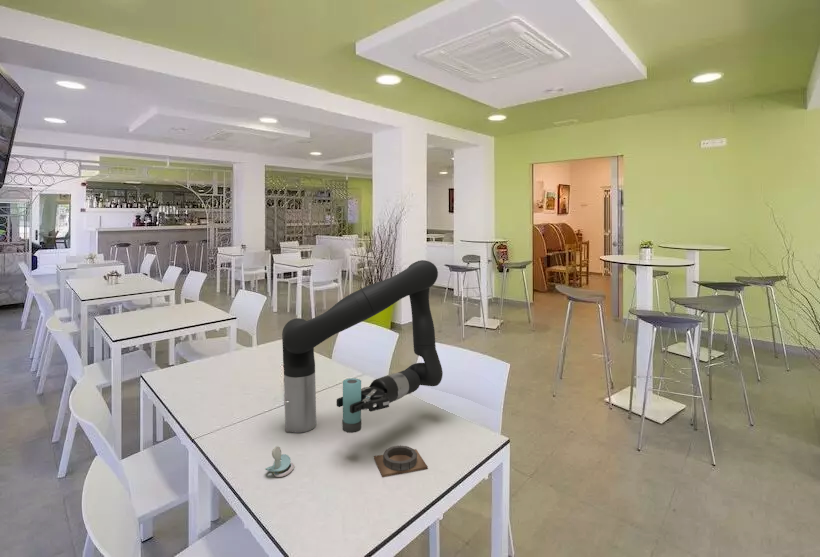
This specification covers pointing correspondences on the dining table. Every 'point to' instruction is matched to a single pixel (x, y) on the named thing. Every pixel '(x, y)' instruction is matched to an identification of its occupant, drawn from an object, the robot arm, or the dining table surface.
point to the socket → (399, 461)
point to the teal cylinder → (350, 396)
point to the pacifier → (280, 463)
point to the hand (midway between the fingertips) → (344, 406)
